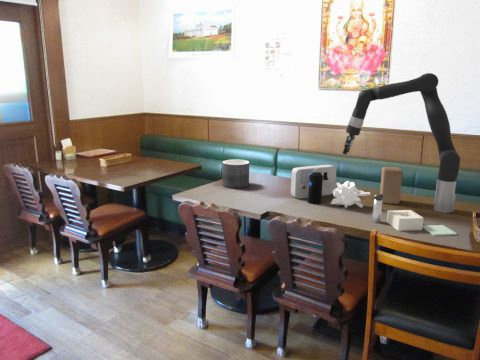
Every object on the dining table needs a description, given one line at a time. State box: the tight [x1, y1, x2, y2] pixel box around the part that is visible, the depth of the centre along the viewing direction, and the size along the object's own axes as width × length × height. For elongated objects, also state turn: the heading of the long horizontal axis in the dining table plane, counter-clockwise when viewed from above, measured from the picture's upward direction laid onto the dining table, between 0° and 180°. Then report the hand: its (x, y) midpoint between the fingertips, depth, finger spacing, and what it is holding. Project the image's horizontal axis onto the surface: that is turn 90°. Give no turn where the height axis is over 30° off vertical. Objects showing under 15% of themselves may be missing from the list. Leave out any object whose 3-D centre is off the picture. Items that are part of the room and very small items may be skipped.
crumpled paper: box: [330, 180, 371, 209], centre depth 224 cm, size 20×17×15 cm
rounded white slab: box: [290, 164, 337, 199], centre depth 244 cm, size 29×8×18 cm, turn 113°
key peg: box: [371, 193, 383, 224], centre depth 201 cm, size 4×4×14 cm
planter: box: [221, 158, 250, 189], centre depth 267 cm, size 18×18×16 cm
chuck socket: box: [386, 209, 424, 232], centre depth 196 cm, size 12×12×6 cm
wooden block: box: [379, 166, 404, 205], centre depth 233 cm, size 10×10×20 cm
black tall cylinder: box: [307, 168, 323, 205], centre depth 231 cm, size 8×8×20 cm
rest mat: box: [422, 224, 458, 237], centre depth 190 cm, size 11×11×1 cm
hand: (345, 153), depth 228 cm, fingers open, 8 cm apart
